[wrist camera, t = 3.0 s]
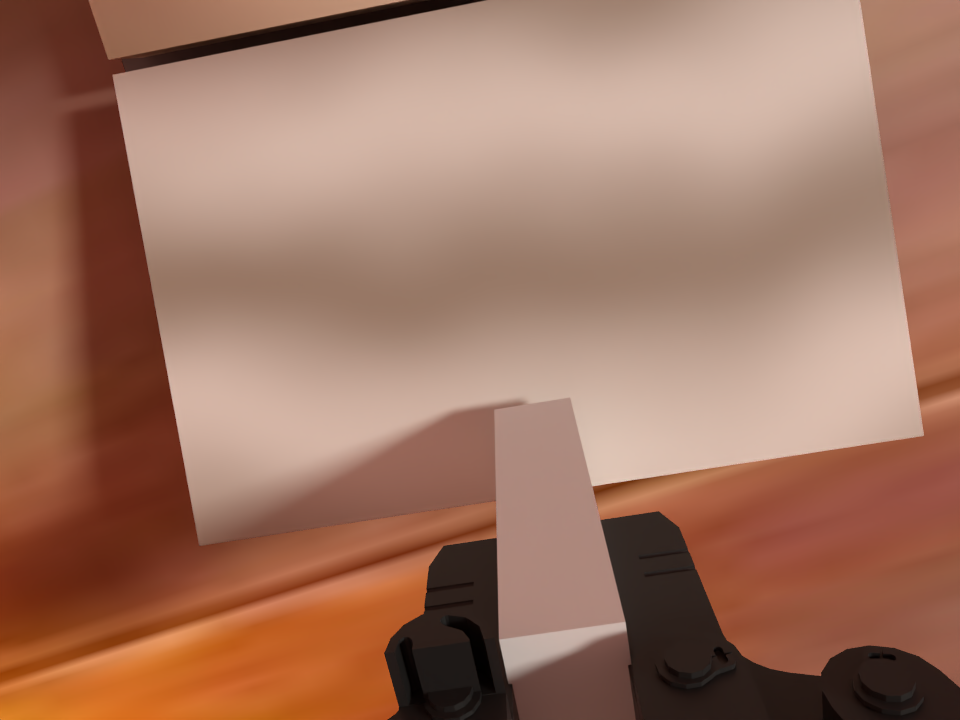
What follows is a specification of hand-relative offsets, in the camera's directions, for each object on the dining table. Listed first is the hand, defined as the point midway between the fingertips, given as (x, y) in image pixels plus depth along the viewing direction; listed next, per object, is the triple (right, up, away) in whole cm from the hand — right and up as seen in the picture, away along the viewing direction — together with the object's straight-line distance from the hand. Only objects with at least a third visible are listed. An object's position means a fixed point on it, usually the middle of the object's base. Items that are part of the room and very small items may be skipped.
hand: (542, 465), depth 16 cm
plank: (-1, +4, +2) cm, 5 cm away
